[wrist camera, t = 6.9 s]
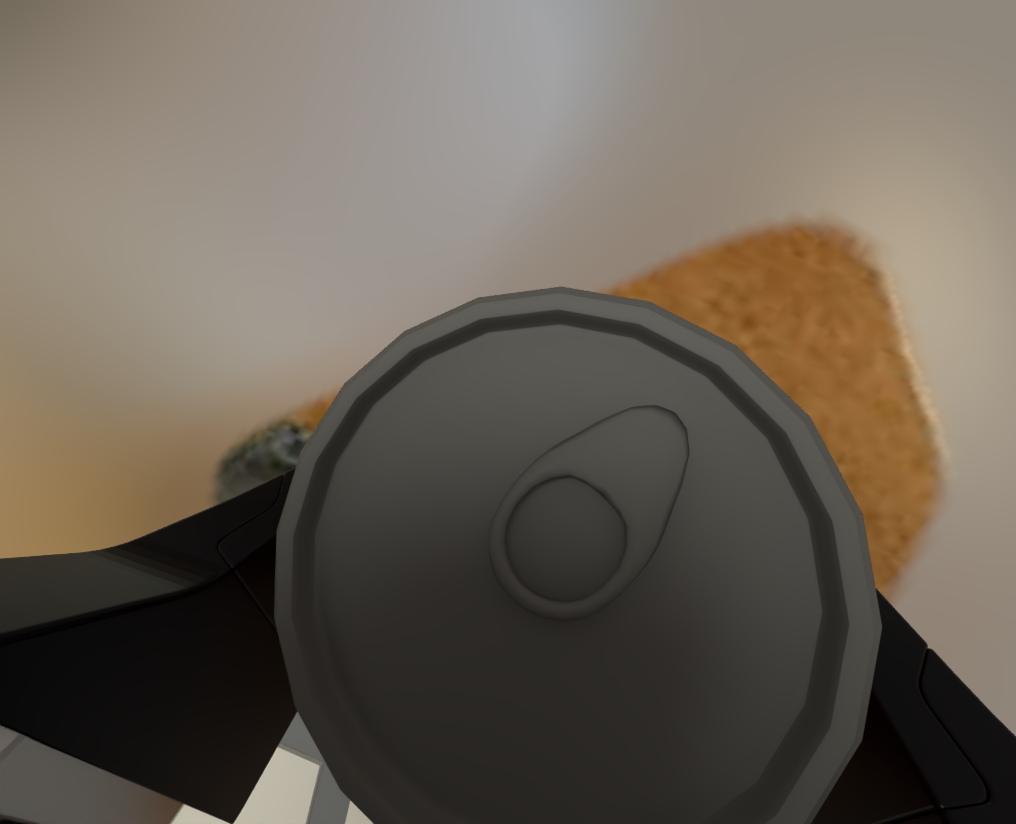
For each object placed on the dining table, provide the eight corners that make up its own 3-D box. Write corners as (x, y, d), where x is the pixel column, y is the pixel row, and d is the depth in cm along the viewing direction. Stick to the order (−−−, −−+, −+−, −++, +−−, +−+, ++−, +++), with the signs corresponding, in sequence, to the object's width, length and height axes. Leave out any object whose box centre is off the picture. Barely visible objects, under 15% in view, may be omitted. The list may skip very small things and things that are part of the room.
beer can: (709, 490, 15) (1196, 571, 3) (585, 629, 15) (570, 1238, 3) (567, 373, 16) (508, 120, 4) (456, 500, 16) (117, 576, 5)
